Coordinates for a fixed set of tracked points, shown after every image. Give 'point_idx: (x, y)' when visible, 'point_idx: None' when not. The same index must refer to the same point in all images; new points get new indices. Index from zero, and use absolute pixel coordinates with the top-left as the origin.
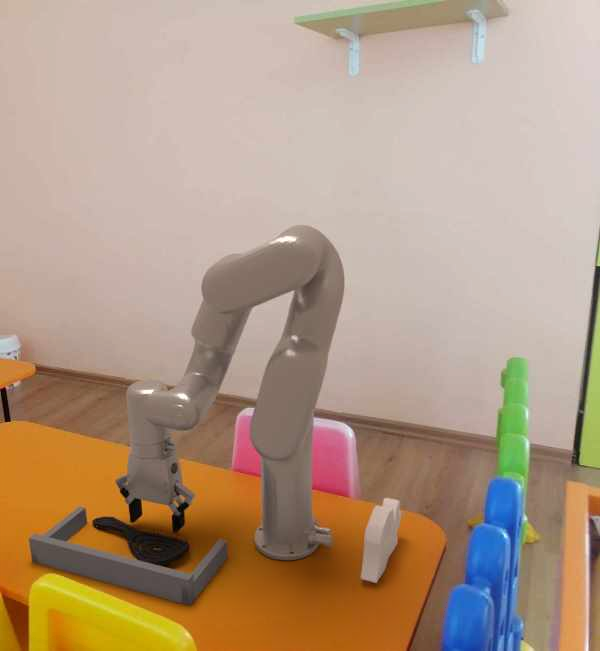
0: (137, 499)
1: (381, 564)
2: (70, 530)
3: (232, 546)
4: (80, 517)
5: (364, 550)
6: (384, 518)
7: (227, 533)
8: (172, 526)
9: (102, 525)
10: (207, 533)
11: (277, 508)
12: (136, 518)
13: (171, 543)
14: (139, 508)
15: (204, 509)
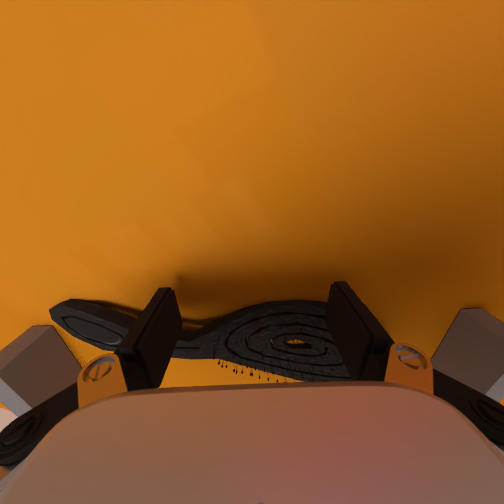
0: (137, 369)
1: None
2: (67, 383)
3: (496, 270)
4: (33, 371)
5: None
6: None
7: (478, 222)
8: (333, 338)
9: (111, 350)
10: (407, 246)
11: None
12: (177, 319)
13: (327, 328)
14: (162, 324)
15: (355, 103)
